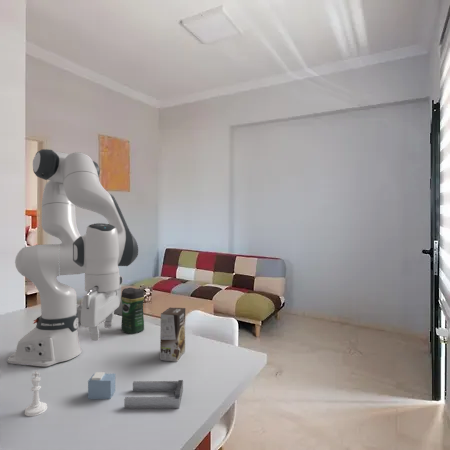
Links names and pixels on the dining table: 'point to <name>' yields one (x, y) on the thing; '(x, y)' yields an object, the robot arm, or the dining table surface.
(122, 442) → the dining table surface
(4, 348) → the dining table surface
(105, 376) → the block
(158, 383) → the grey u-shaped piece
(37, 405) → the chess piece
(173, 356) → the coffee box
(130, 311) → the coffee jar
